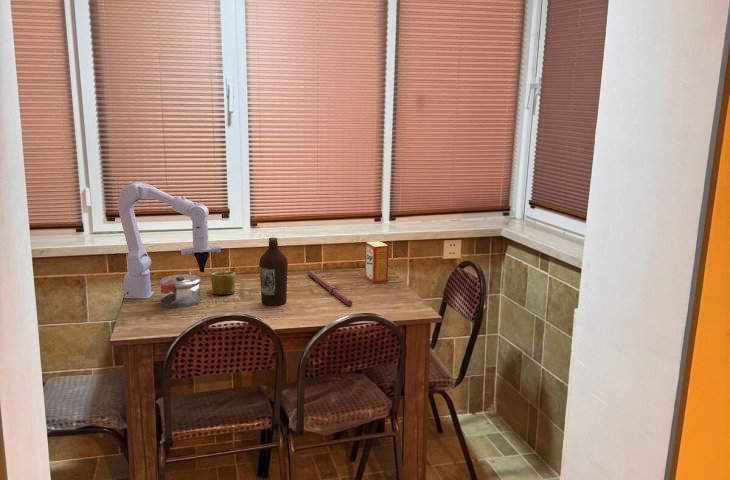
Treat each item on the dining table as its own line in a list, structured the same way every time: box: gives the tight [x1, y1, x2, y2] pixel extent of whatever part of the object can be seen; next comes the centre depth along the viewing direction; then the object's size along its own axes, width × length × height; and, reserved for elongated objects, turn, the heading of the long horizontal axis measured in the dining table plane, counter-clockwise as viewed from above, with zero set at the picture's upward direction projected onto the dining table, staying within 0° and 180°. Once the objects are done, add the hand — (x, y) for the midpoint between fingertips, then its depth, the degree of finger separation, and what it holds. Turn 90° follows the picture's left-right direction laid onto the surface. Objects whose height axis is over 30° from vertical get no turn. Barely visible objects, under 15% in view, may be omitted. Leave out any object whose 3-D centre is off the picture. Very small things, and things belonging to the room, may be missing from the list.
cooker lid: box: [159, 273, 201, 294], centre depth 239 cm, size 21×15×3 cm
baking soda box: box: [364, 240, 389, 284], centre depth 276 cm, size 10×6×16 cm
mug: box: [210, 270, 236, 296], centre depth 256 cm, size 12×10×10 cm
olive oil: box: [258, 236, 289, 307], centre depth 242 cm, size 11×11×25 cm
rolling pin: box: [307, 270, 353, 307], centre depth 261 cm, size 45×3×3 cm, turn 24°
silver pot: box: [161, 282, 201, 308], centre depth 240 cm, size 20×14×7 cm
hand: (201, 271), depth 247 cm, fingers closed
